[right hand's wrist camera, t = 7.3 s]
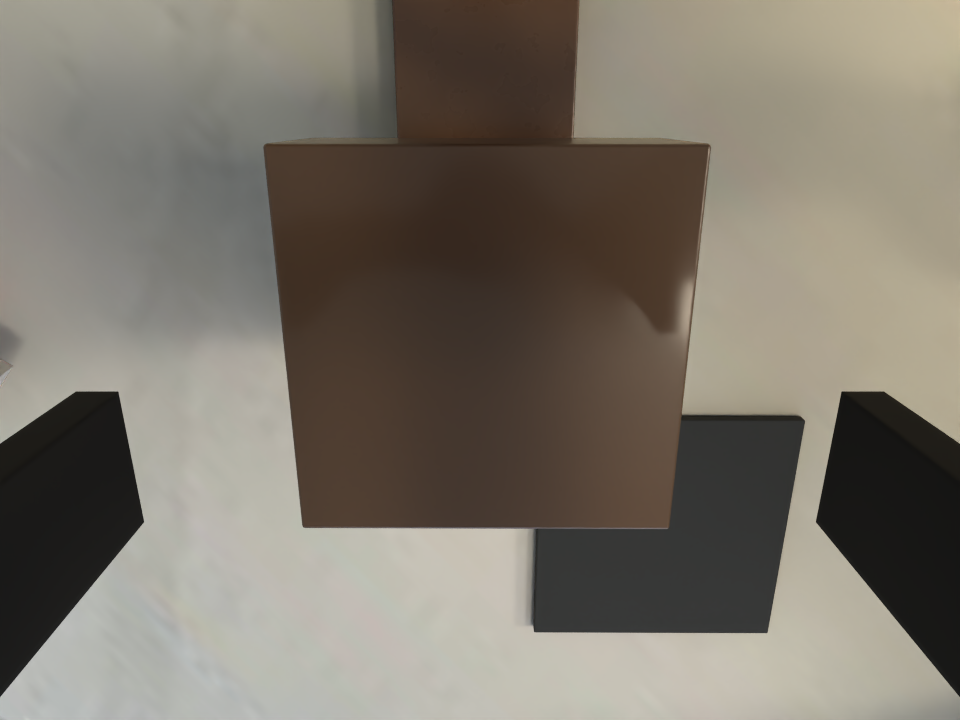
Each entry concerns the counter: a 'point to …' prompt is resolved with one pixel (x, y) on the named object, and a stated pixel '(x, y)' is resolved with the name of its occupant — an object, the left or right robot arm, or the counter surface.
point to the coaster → (684, 542)
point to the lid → (486, 326)
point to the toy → (4, 370)
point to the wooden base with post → (485, 68)
